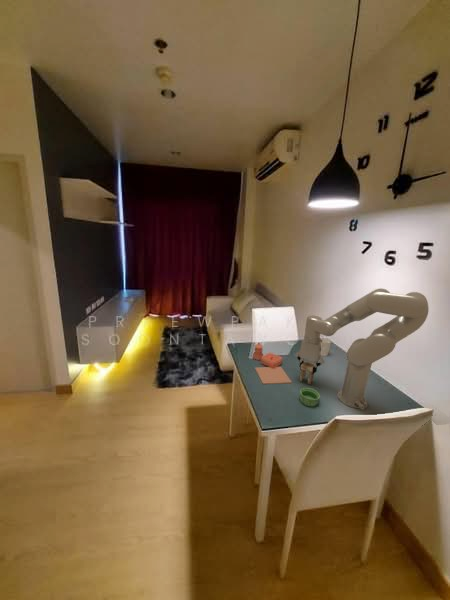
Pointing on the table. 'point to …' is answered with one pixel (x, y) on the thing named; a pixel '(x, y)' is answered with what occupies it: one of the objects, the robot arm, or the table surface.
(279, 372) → the mat
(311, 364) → the stool
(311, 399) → the ramekin
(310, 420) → the table surface
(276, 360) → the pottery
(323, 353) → the white cup
